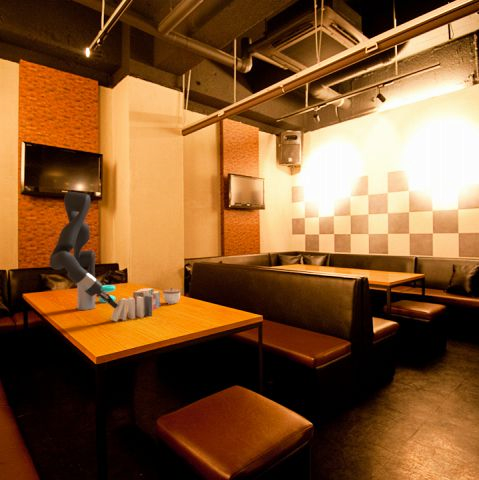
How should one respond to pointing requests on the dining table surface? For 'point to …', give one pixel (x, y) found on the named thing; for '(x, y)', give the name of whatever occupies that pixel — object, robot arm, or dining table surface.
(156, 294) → the stack of blocks
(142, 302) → the domino
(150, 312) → the domino
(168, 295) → the lidded jar
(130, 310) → the domino
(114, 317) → the domino
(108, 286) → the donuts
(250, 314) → the dining table surface
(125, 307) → the domino
